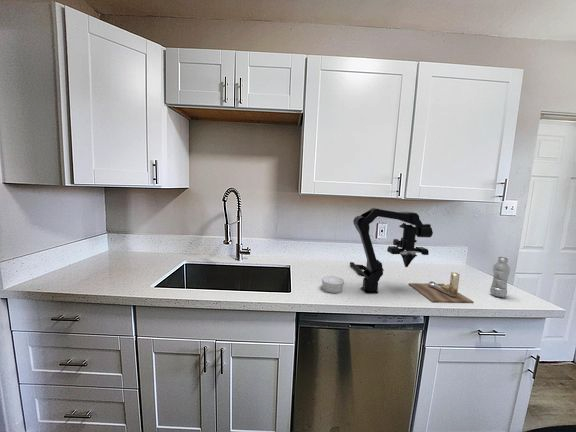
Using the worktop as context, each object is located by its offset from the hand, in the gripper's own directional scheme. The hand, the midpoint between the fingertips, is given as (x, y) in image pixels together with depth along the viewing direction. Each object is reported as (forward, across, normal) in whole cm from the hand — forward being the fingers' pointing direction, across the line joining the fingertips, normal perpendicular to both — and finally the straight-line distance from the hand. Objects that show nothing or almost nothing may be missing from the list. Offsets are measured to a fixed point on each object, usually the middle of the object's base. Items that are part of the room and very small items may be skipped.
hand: (406, 266), depth 125 cm
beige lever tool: (+12, -19, +1) cm, 23 cm away
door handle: (+14, +10, -30) cm, 35 cm away
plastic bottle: (+13, -47, +4) cm, 49 cm away
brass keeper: (+12, -21, +2) cm, 25 cm away
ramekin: (+13, +37, -1) cm, 39 cm away
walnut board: (+13, -18, +2) cm, 22 cm away
